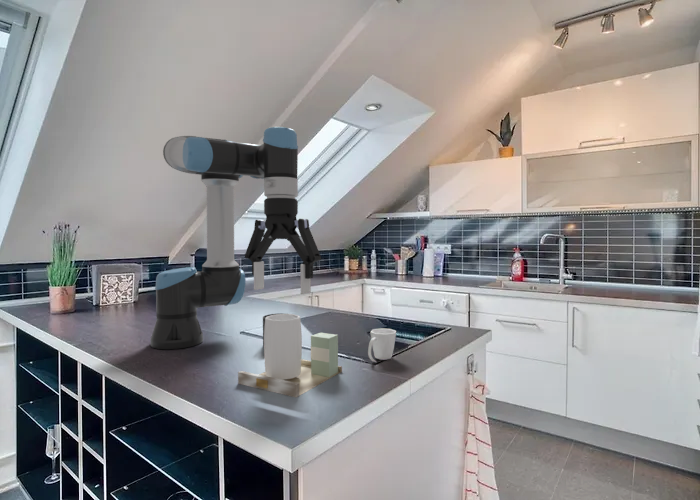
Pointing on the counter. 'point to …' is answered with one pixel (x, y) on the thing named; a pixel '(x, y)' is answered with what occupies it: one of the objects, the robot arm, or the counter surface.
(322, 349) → the tea carton
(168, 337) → the robot arm
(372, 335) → the cup
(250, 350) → the counter surface
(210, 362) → the counter surface
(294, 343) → the cup
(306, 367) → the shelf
